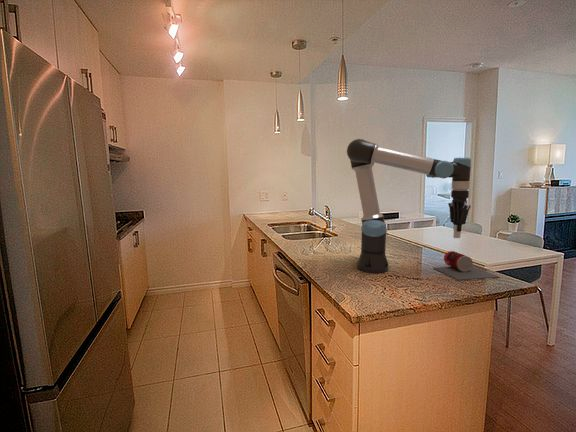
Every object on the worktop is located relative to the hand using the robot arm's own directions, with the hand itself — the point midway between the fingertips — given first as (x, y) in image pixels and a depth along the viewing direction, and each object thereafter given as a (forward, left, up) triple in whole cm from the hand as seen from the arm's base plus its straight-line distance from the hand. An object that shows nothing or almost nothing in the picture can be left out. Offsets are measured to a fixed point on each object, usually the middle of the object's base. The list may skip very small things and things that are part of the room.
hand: (456, 237), depth 159 cm
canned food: (-1, +2, -11) cm, 11 cm away
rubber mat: (-1, -9, -15) cm, 18 cm away
